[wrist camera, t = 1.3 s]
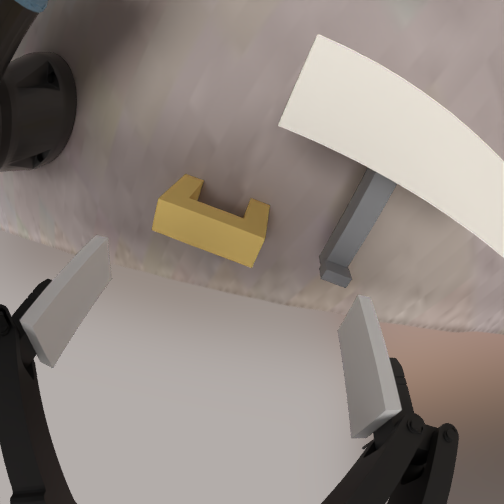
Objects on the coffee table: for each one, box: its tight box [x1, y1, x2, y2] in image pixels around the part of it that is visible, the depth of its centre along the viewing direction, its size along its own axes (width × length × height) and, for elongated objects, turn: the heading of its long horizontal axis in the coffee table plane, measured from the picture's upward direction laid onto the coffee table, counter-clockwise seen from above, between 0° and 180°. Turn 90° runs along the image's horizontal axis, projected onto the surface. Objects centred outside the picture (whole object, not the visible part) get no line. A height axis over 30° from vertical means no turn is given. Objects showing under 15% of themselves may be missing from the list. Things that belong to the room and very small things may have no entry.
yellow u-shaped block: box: [152, 174, 270, 268], centre depth 26 cm, size 9×3×7 cm, turn 70°
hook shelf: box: [278, 34, 504, 288], centre depth 20 cm, size 18×15×13 cm
